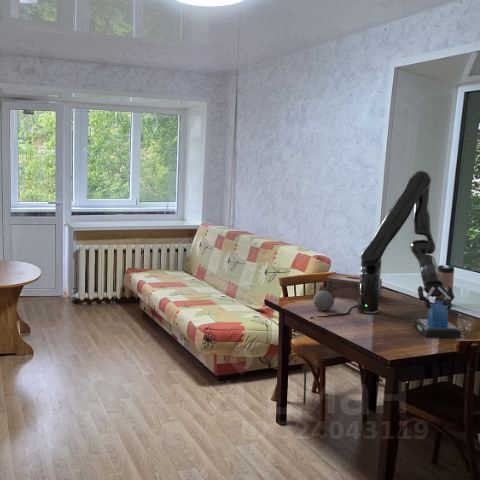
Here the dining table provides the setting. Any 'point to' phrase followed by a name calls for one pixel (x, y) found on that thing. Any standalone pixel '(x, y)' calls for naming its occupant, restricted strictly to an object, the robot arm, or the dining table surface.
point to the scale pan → (433, 327)
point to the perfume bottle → (438, 313)
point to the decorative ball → (323, 300)
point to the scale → (437, 331)
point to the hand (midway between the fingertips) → (439, 308)
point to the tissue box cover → (345, 285)
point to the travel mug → (446, 277)
